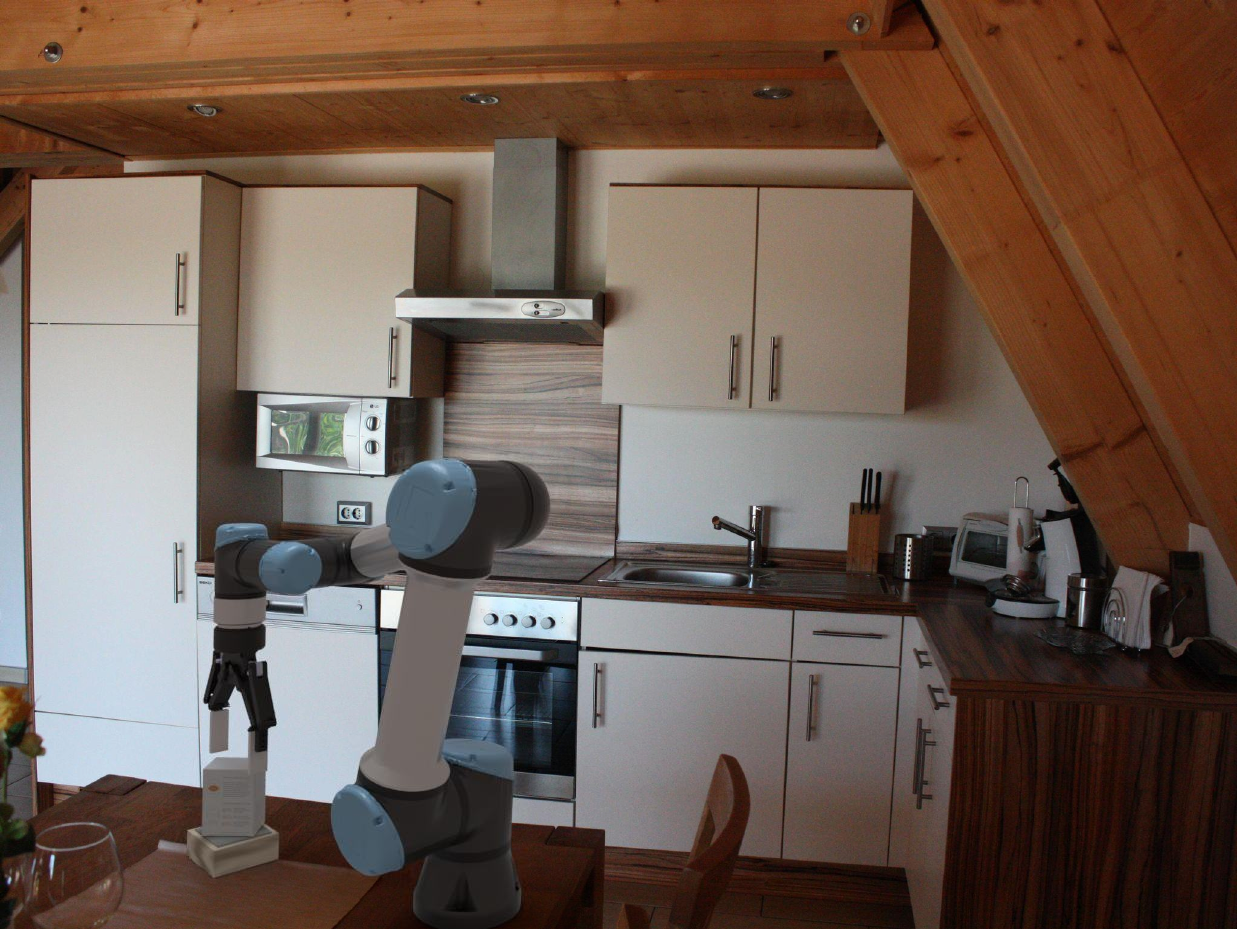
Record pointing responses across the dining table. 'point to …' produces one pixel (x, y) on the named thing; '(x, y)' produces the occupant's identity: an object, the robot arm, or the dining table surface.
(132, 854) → the dining table surface
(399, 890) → the dining table surface
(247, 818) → the small box
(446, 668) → the robot arm
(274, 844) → the birch stand
